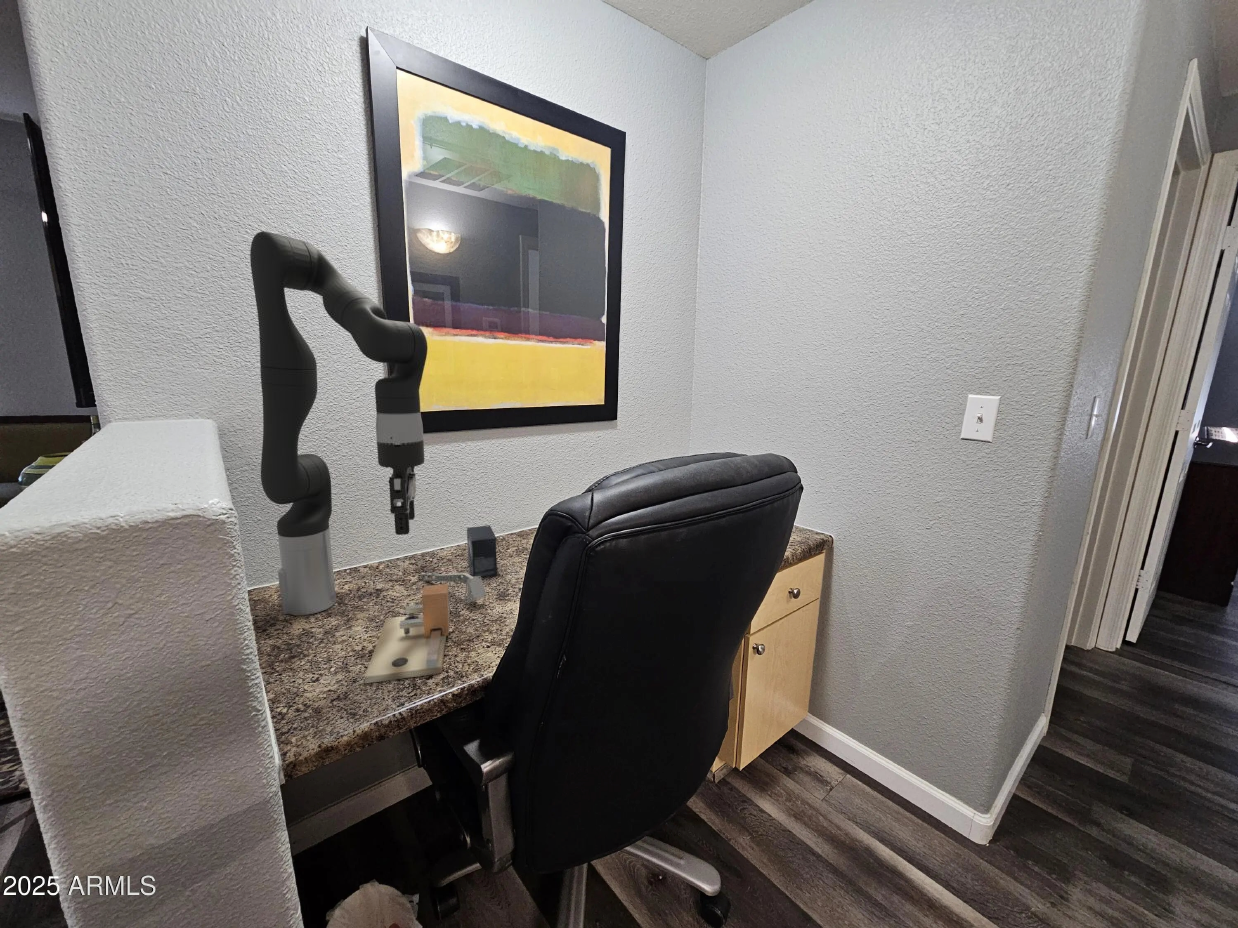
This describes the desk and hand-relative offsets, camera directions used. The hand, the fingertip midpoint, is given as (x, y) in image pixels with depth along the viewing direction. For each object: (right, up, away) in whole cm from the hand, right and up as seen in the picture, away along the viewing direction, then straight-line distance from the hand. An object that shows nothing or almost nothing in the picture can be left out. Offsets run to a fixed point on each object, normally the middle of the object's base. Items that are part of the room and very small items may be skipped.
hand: (405, 526), depth 88 cm
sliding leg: (+1, -21, +5) cm, 22 cm away
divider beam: (+2, -22, +4) cm, 22 cm away
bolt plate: (0, -23, +3) cm, 23 cm away
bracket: (-1, -19, +26) cm, 32 cm away
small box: (+3, -17, +39) cm, 42 cm away
